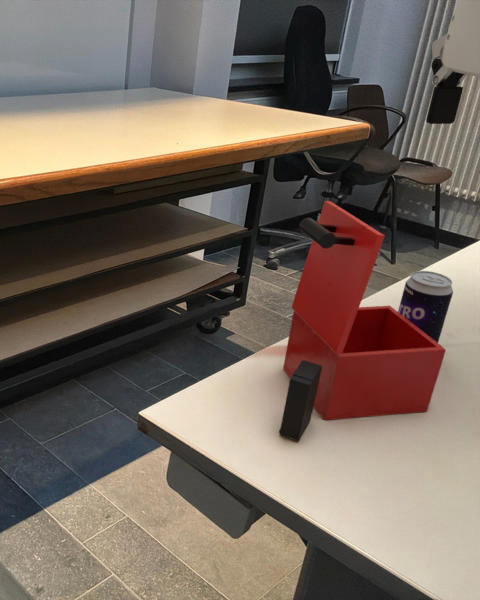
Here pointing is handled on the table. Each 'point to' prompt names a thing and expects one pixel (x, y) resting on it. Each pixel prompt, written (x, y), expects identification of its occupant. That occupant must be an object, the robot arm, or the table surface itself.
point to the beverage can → (427, 301)
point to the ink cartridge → (300, 400)
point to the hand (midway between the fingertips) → (468, 132)
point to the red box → (369, 365)
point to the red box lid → (335, 272)
